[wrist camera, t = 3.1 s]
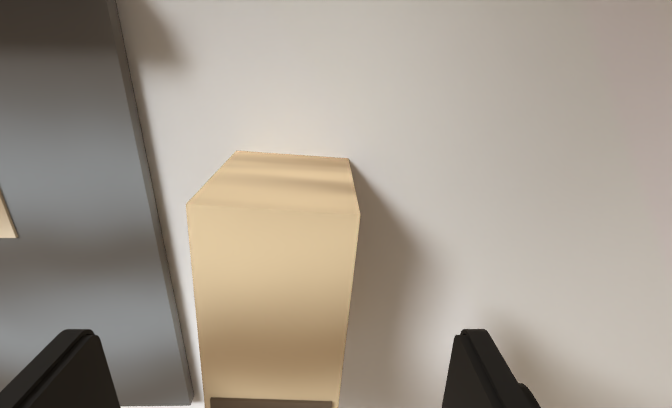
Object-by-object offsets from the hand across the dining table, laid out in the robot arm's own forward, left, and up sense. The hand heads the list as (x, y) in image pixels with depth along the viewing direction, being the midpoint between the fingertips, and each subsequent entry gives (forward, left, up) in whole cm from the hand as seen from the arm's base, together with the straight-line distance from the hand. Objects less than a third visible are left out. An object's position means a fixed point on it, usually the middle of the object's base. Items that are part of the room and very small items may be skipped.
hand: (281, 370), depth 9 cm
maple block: (-1, 0, -6) cm, 6 cm away
